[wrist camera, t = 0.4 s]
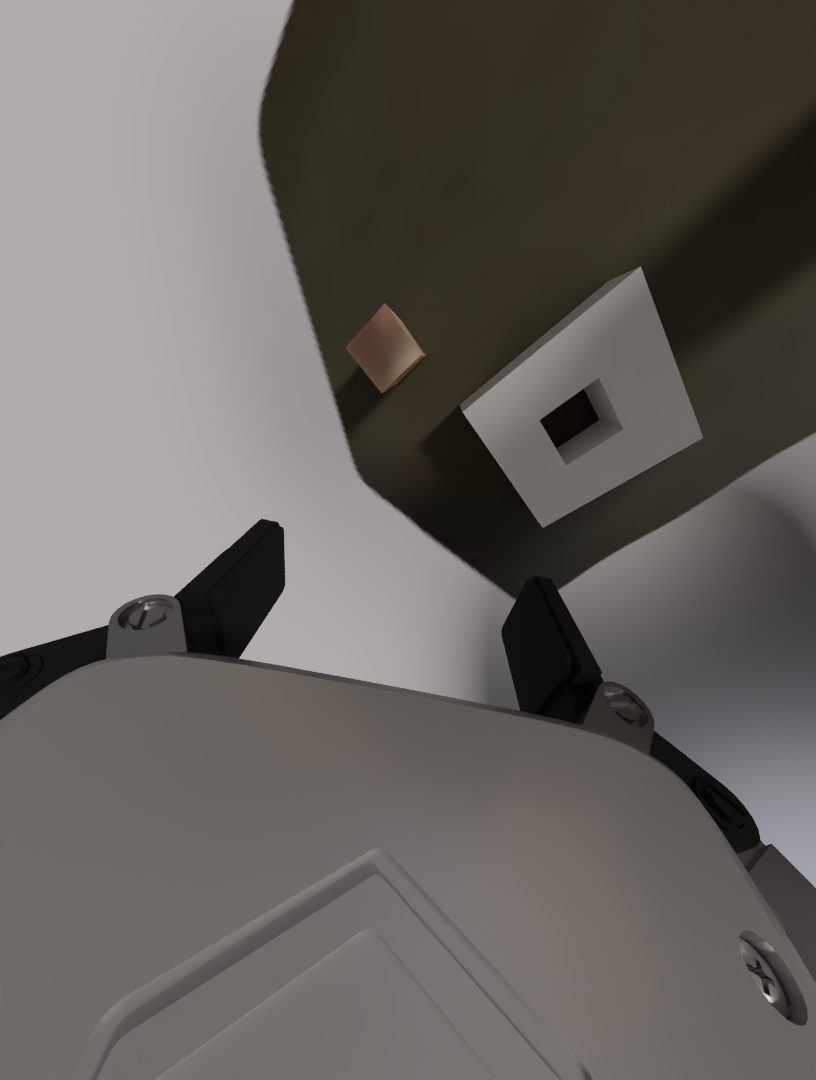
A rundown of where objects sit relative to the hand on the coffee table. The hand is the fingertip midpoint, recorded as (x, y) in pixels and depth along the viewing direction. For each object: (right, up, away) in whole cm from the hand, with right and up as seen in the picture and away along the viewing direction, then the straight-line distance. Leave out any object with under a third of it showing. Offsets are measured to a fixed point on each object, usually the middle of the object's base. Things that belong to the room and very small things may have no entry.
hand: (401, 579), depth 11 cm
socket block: (+17, +15, +21) cm, 31 cm away
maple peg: (-1, +21, +19) cm, 29 cm away
